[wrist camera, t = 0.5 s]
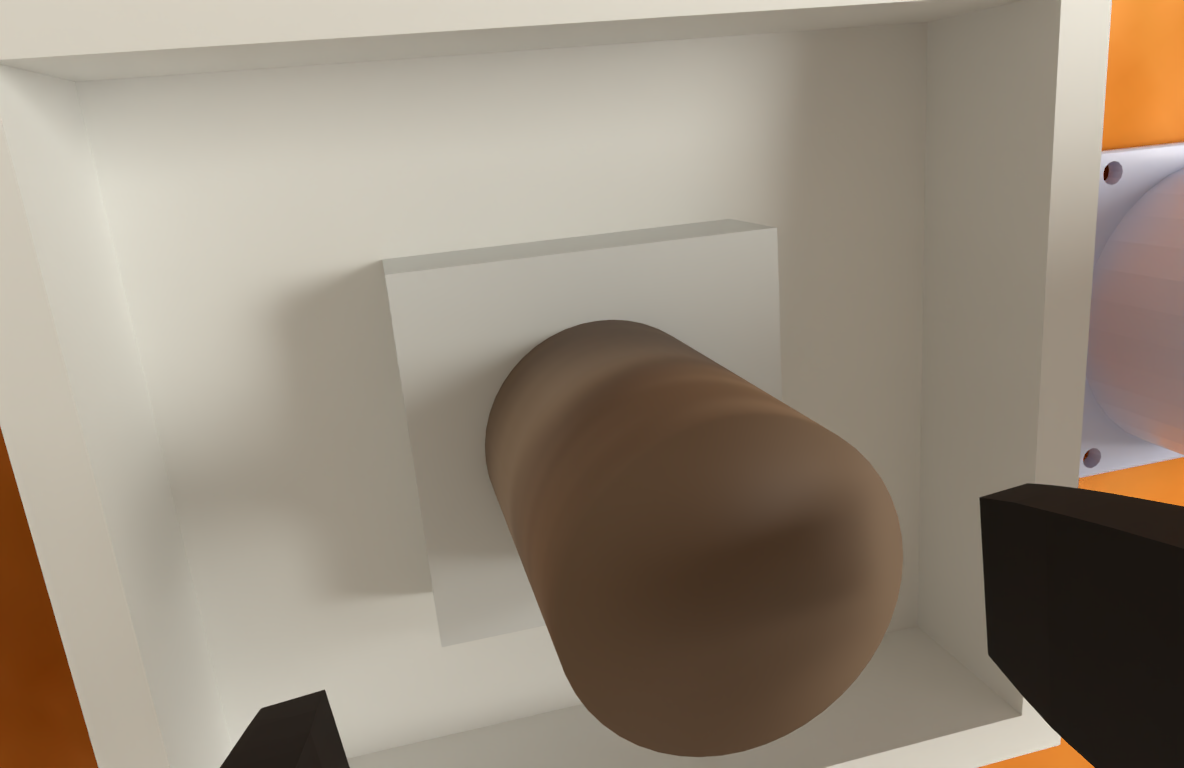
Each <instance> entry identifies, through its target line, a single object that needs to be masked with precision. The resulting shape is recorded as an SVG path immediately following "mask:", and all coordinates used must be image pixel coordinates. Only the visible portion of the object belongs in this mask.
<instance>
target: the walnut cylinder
mask: <svg viewBox="0 0 1184 768" xmlns="http://www.w3.org/2000/svg"><path fill="white" fill-rule="evenodd" d="M485 457H486V465H487V470H488V475H489V478H490V481H491V484H492V486H493V489H494V492H495V495H496V497H497V500H498V502H499V505H500V508H501V510H502V513H503V515H504V518H505V520H506V523H507V526H508V528H509V531H510V533H511V536H512V539H513V541H514V544H515V546H516V549H517V552H518V554H519V557H520V559H521V562H522V564H523V567H524V570H525V572H526V575H527V577H528V580H529V583H530V585H531V588H532V590H533V593H534V596H535V598H536V601H537V603H538V606H539V608H540V611H541V614H542V616H543V619H544V621H545V624H546V627H547V629H548V632H549V634H550V637H551V640H552V642H553V645H554V647H555V650H556V653H557V655H558V658H559V660H560V663H561V665H562V668H563V671H564V673H565V676H566V677H567V679H568V681H569V683H570V685H571V687H572V689H573V690H574V692H575V694H576V695H577V697H578V698H579V699H580V701H581V702H582V703H583V705H584V706H585V707H586V709H587V710H588V711H589V712H590V713H591V714H592V715H593V716H594V717H595V718H596V719H597V720H598V721H599V722H601V723H602V724H603V725H604V726H605V727H607V728H608V729H610V730H611V731H613V732H614V733H615V734H617V735H618V736H620V737H622V738H624V739H626V740H628V741H630V742H632V743H634V744H636V745H638V746H640V747H644V748H647V749H650V750H653V751H656V752H659V753H665V754H670V755H676V756H687V757H710V756H723V755H728V754H733V753H738V752H743V751H747V750H750V749H753V748H756V747H759V746H762V745H765V744H768V743H770V742H772V741H775V740H777V739H779V738H781V737H784V736H786V735H788V734H789V733H791V732H793V731H795V730H796V729H798V728H800V727H802V726H803V725H805V724H807V723H808V722H809V721H811V720H812V719H814V718H815V717H816V716H818V715H819V714H821V713H822V712H823V711H825V710H826V709H827V708H828V707H829V706H830V705H831V704H832V703H834V702H835V701H836V700H837V699H838V698H839V697H840V696H841V695H842V694H843V693H844V692H845V691H846V690H847V689H848V688H849V687H850V686H851V685H852V683H853V682H854V681H855V680H856V679H857V678H858V676H859V675H860V674H861V672H862V671H863V670H864V668H865V667H866V666H867V664H868V663H869V662H870V660H871V658H872V657H873V655H874V653H875V652H876V650H877V648H878V647H879V645H880V643H881V641H882V639H883V637H884V635H885V633H886V630H887V628H888V626H889V624H890V622H891V619H892V616H893V612H894V609H895V606H896V603H897V600H898V595H899V590H900V585H901V580H902V567H903V545H902V534H901V529H900V524H899V519H898V515H897V512H896V509H895V506H894V503H893V500H892V498H891V496H890V494H889V492H888V490H887V488H886V486H885V484H884V482H883V480H882V478H881V477H880V476H879V474H878V473H877V472H876V470H875V469H874V468H873V466H872V465H871V463H870V462H869V461H868V460H867V459H866V458H865V457H864V456H863V455H862V454H861V453H860V452H859V451H858V450H857V449H856V448H855V447H853V446H852V445H850V444H849V443H848V442H846V441H845V440H844V439H842V438H841V437H839V436H838V435H836V434H835V433H833V432H831V431H830V430H828V429H826V428H825V427H823V426H821V425H820V424H818V423H816V422H815V421H813V420H811V419H810V418H808V417H806V416H805V415H803V414H801V413H800V412H798V411H796V410H795V409H793V408H791V407H790V406H788V405H786V404H785V403H783V402H781V401H780V400H778V399H776V398H775V397H773V396H771V395H770V394H768V393H766V392H765V391H763V390H761V389H760V388H758V387H756V386H755V385H753V384H751V383H750V382H748V381H746V380H745V379H743V378H741V377H740V376H738V375H736V374H735V373H733V372H731V371H730V370H728V369H726V368H725V367H723V366H721V365H720V364H718V363H716V362H715V361H713V360H711V359H710V358H708V357H706V356H705V355H703V354H701V353H700V352H698V351H696V350H695V349H693V348H691V347H690V346H688V345H686V344H685V343H683V342H681V341H680V340H678V339H676V338H675V337H673V336H671V335H669V334H667V333H665V332H663V331H662V330H660V329H657V328H655V327H652V326H649V325H646V324H643V323H638V322H633V321H627V320H600V321H593V322H588V323H583V324H579V325H576V326H574V327H571V328H568V329H565V330H563V331H561V332H559V333H557V334H555V335H553V336H551V337H549V338H548V339H546V340H545V341H543V342H542V343H540V344H539V345H537V346H536V347H535V348H533V349H532V350H531V351H530V352H529V353H528V354H526V355H525V356H524V357H523V358H522V359H521V360H520V361H519V363H518V364H517V365H516V366H515V367H514V368H513V369H512V371H511V372H510V374H509V375H508V376H507V378H506V379H505V381H504V382H503V384H502V386H501V388H500V390H499V391H498V393H497V395H496V397H495V400H494V402H493V405H492V408H491V411H490V414H489V418H488V423H487V427H486V437H485Z"/></svg>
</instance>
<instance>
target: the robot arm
mask: <svg viewBox="0 0 1184 768" xmlns="http://www.w3.org/2000/svg"><path fill="white" fill-rule="evenodd" d="M1107 165H1108V167H1109V174H1108V177H1107V179H1106V180H1105V181H1104V177H1103V173H1104V169H1105V167H1106V166H1107ZM1088 450H1089V453H1088V456H1087V458H1086V459H1085V460H1084V461H1083V458H1084V455H1085V454H1086V452H1087V451H1088ZM1181 457H1184V142H1176V143H1167V144H1157V145H1148V146H1139V147H1130V148H1121V149H1112V150H1103V151H1101V164H1100V179H1099V193H1098V207H1097V222H1096V236H1095V251H1094V265H1093V279H1092V294H1091V308H1090V323H1089V337H1088V351H1087V366H1086V380H1085V395H1084V409H1083V423H1082V438H1081V452H1080V467H1079V478H1082V477H1087V476H1092V475H1097V474H1102V473H1107V472H1112V471H1116V470H1121V469H1126V468H1131V467H1136V466H1141V465H1146V464H1151V463H1156V462H1161V461H1166V460H1171V459H1176V458H1181ZM979 500H980V518H981V537H982V555H983V573H984V592H985V610H986V628H987V647H988V655H989V657H990V658H991V659H992V660H993V661H994V663H995V664H996V665H997V666H998V667H999V669H1000V670H1001V671H1002V672H1003V673H1004V675H1005V676H1006V677H1007V678H1008V679H1009V680H1010V682H1011V683H1012V684H1013V685H1014V686H1015V688H1016V689H1017V690H1018V691H1019V692H1020V694H1021V695H1022V696H1023V697H1024V698H1025V699H1026V700H1027V701H1028V703H1029V704H1030V705H1031V706H1032V707H1033V708H1034V709H1035V710H1036V711H1037V712H1038V714H1039V715H1040V716H1041V717H1042V718H1043V719H1044V720H1045V721H1046V722H1047V723H1048V725H1049V726H1050V727H1051V728H1052V729H1053V730H1054V731H1055V732H1057V733H1058V734H1059V735H1060V736H1061V737H1062V738H1063V739H1064V740H1065V741H1066V742H1067V743H1068V744H1069V745H1071V746H1072V747H1073V748H1074V749H1075V750H1076V751H1077V752H1078V753H1079V754H1081V755H1082V756H1083V757H1084V758H1085V759H1086V760H1087V761H1088V762H1089V763H1091V764H1092V765H1093V766H1094V767H1095V768H1184V507H1183V506H1178V505H1172V504H1167V503H1161V502H1156V501H1150V500H1145V499H1139V498H1134V497H1128V496H1122V495H1117V494H1111V493H1105V492H1098V491H1092V490H1086V489H1079V488H1072V487H1064V486H1056V485H1045V484H1032V483H1026V484H1023V485H1020V486H1016V487H1013V488H1009V489H1006V490H1003V491H999V492H996V493H992V494H989V495H986V496H982V497H979ZM220 768H350V767H349V764H348V760H347V757H346V754H345V751H344V748H343V745H342V742H341V738H340V735H339V732H338V729H337V726H336V723H335V719H334V716H333V713H332V710H331V707H330V704H329V701H328V697H327V694H326V691H325V690H321V691H318V692H315V693H311V694H308V695H304V696H301V697H298V698H294V699H291V700H287V701H284V702H280V703H277V704H274V705H270V706H267V707H263V708H261V709H260V710H259V712H258V713H257V714H256V716H255V717H254V718H253V720H252V721H251V723H250V724H249V725H248V727H247V728H246V730H245V731H244V733H243V734H242V736H241V737H240V739H239V740H238V742H237V743H236V745H235V746H234V747H233V749H232V750H231V752H230V753H229V755H228V756H227V758H226V759H225V761H224V762H223V764H222V765H221V767H220Z"/></svg>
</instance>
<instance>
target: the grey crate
mask: <svg viewBox="0 0 1184 768" xmlns="http://www.w3.org/2000/svg"><path fill="white" fill-rule="evenodd" d="M1111 6H1112V0H0V427H1V430H2V434H3V437H4V441H5V444H6V448H7V451H8V455H9V458H10V462H11V465H12V469H13V472H14V476H15V479H16V483H17V486H18V490H19V493H20V496H21V500H22V503H23V507H24V510H25V514H26V517H27V521H28V524H29V528H30V531H31V535H32V538H33V542H34V545H35V549H36V552H37V556H38V559H39V563H40V566H41V570H42V573H43V577H44V580H45V584H46V587H47V591H48V594H49V597H50V601H51V604H52V608H53V611H54V615H55V618H56V622H57V625H58V629H59V632H60V636H61V639H62V643H63V646H64V650H65V653H66V657H67V660H68V664H69V667H70V671H71V674H72V678H73V681H74V685H75V688H76V692H77V695H78V698H79V702H80V705H81V709H82V712H83V716H84V719H85V723H86V726H87V730H88V733H89V737H90V740H91V744H92V747H93V751H94V754H95V758H96V761H97V765H98V768H220V767H221V765H222V764H223V762H224V761H225V759H226V758H227V756H228V755H229V753H230V752H231V750H232V749H233V747H234V746H235V745H236V743H237V742H238V740H239V739H240V737H241V736H242V734H243V733H244V731H245V730H246V728H247V727H248V725H249V724H250V723H251V721H252V720H253V718H254V717H255V716H256V714H257V713H258V712H259V710H260V709H261V708H263V707H267V706H270V705H274V704H277V703H280V702H284V701H287V700H291V699H294V698H298V697H301V696H304V695H308V694H311V693H315V692H318V691H321V690H325V691H326V694H327V697H328V701H329V704H330V707H331V710H332V713H333V716H334V719H335V723H336V726H337V729H338V732H339V735H340V738H341V742H342V745H343V748H344V751H345V754H346V757H347V760H348V764H349V767H350V768H977V767H981V766H984V765H988V764H992V763H995V762H999V761H1003V760H1006V759H1010V758H1014V757H1017V756H1021V755H1025V754H1028V753H1032V752H1035V751H1039V750H1043V749H1046V748H1050V747H1054V746H1057V745H1060V740H1061V736H1060V735H1059V734H1058V733H1057V732H1055V731H1054V730H1053V729H1052V728H1051V727H1050V726H1049V725H1048V723H1047V722H1046V721H1045V720H1044V719H1043V718H1042V717H1041V716H1040V715H1039V714H1038V712H1037V711H1036V710H1035V709H1034V708H1033V707H1032V706H1031V705H1030V704H1029V703H1028V701H1027V700H1026V699H1025V698H1024V697H1023V696H1022V695H1021V694H1020V692H1019V691H1018V690H1017V689H1016V688H1015V686H1014V685H1013V684H1012V683H1011V682H1010V680H1009V679H1008V678H1007V677H1006V676H1005V675H1004V673H1003V672H1002V671H1001V670H1000V669H999V667H998V666H997V665H996V664H995V663H994V661H993V660H992V659H991V658H990V657H989V655H988V647H987V628H986V610H985V592H984V573H983V555H982V537H981V518H980V500H979V497H982V496H986V495H989V494H992V493H996V492H999V491H1003V490H1006V489H1009V488H1013V487H1016V486H1020V485H1023V484H1026V483H1032V484H1045V485H1056V486H1064V487H1072V488H1078V481H1079V467H1080V452H1081V438H1082V423H1083V409H1084V395H1085V380H1086V366H1087V351H1088V337H1089V323H1090V308H1091V294H1092V279H1093V265H1094V251H1095V236H1096V222H1097V207H1098V193H1099V179H1100V164H1101V150H1102V135H1103V121H1104V107H1105V92H1106V78H1107V63H1108V49H1109V35H1110V20H1111ZM600 320H627V321H633V322H638V323H643V324H646V325H649V326H652V327H655V328H657V329H660V330H662V331H663V332H665V333H667V334H669V335H671V336H673V337H675V338H676V339H678V340H680V341H681V342H683V343H685V344H686V345H688V346H690V347H691V348H693V349H695V350H696V351H698V352H700V353H701V354H703V355H705V356H706V357H708V358H710V359H711V360H713V361H715V362H716V363H718V364H720V365H721V366H723V367H725V368H726V369H728V370H730V371H731V372H733V373H735V374H736V375H738V376H740V377H741V378H743V379H745V380H746V381H748V382H750V383H751V384H753V385H755V386H756V387H758V388H760V389H761V390H763V391H765V392H766V393H768V394H770V395H771V396H773V397H775V398H776V399H778V400H780V401H781V402H783V403H785V404H786V405H788V406H790V407H791V408H793V409H795V410H796V411H798V412H800V413H801V414H803V415H805V416H806V417H808V418H810V419H811V420H813V421H815V422H816V423H818V424H820V425H821V426H823V427H825V428H826V429H828V430H830V431H831V432H833V433H835V434H836V435H838V436H839V437H841V438H842V439H844V440H845V441H846V442H848V443H849V444H850V445H852V446H853V447H855V448H856V449H857V450H858V451H859V452H860V453H861V454H862V455H863V456H864V457H865V458H866V459H867V460H868V461H869V462H870V463H871V465H872V466H873V468H874V469H875V470H876V472H877V473H878V474H879V476H880V477H881V478H882V480H883V482H884V484H885V486H886V488H887V490H888V492H889V494H890V496H891V498H892V500H893V503H894V506H895V509H896V512H897V515H898V519H899V524H900V529H901V534H902V545H903V567H902V580H901V585H900V590H899V595H898V600H897V603H896V606H895V609H894V612H893V616H892V619H891V622H890V624H889V626H888V628H887V630H886V633H885V635H884V637H883V639H882V641H881V643H880V645H879V647H878V648H877V650H876V652H875V653H874V655H873V657H872V658H871V660H870V662H869V663H868V664H867V666H866V667H865V668H864V670H863V671H862V672H861V674H860V675H859V676H858V678H857V679H856V680H855V681H854V682H853V683H852V685H851V686H850V687H849V688H848V689H847V690H846V691H845V692H844V693H843V694H842V695H841V696H840V697H839V698H838V699H837V700H836V701H835V702H834V703H832V704H831V705H830V706H829V707H828V708H827V709H826V710H825V711H823V712H822V713H821V714H819V715H818V716H816V717H815V718H814V719H812V720H811V721H809V722H808V723H807V724H805V725H803V726H802V727H800V728H798V729H796V730H795V731H793V732H791V733H789V734H788V735H786V736H784V737H781V738H779V739H777V740H775V741H772V742H770V743H768V744H765V745H762V746H759V747H756V748H753V749H750V750H747V751H743V752H738V753H733V754H728V755H723V756H710V757H687V756H676V755H670V754H665V753H659V752H656V751H653V750H650V749H647V748H644V747H640V746H638V745H636V744H634V743H632V742H630V741H628V740H626V739H624V738H622V737H620V736H618V735H617V734H615V733H614V732H613V731H611V730H610V729H608V728H607V727H605V726H604V725H603V724H602V723H601V722H599V721H598V720H597V719H596V718H595V717H594V716H593V715H592V714H591V713H590V712H589V711H588V710H587V709H586V707H585V706H584V705H583V703H582V702H581V701H580V699H579V698H578V697H577V695H576V694H575V692H574V690H573V689H572V687H571V685H570V683H569V681H568V679H567V677H566V676H565V673H564V671H563V668H562V665H561V663H560V660H559V658H558V655H557V653H556V650H555V647H554V645H553V642H552V640H551V637H550V634H549V632H548V629H547V627H546V624H545V621H544V619H543V616H542V614H541V611H540V608H539V606H538V603H537V601H536V598H535V596H534V593H533V590H532V588H531V585H530V583H529V580H528V577H527V575H526V572H525V570H524V567H523V564H522V562H521V559H520V557H519V554H518V552H517V549H516V546H515V544H514V541H513V539H512V536H511V533H510V531H509V528H508V526H507V523H506V520H505V518H504V515H503V513H502V510H501V508H500V505H499V502H498V500H497V497H496V495H495V492H494V489H493V486H492V484H491V481H490V478H489V475H488V470H487V465H486V457H485V437H486V427H487V423H488V418H489V414H490V411H491V408H492V405H493V402H494V400H495V397H496V395H497V393H498V391H499V390H500V388H501V386H502V384H503V382H504V381H505V379H506V378H507V376H508V375H509V374H510V372H511V371H512V369H513V368H514V367H515V366H516V365H517V364H518V363H519V361H520V360H521V359H522V358H523V357H524V356H525V355H526V354H528V353H529V352H530V351H531V350H532V349H533V348H535V347H536V346H537V345H539V344H540V343H542V342H543V341H545V340H546V339H548V338H549V337H551V336H553V335H555V334H557V333H559V332H561V331H563V330H565V329H568V328H571V327H574V326H576V325H579V324H583V323H588V322H593V321H600Z"/></svg>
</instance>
